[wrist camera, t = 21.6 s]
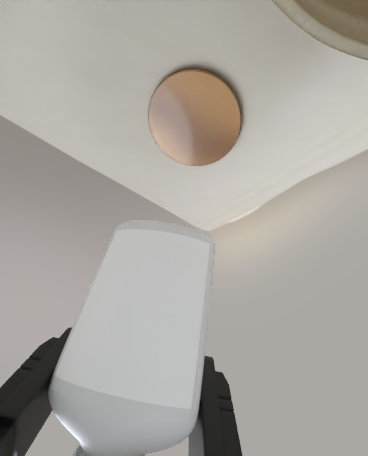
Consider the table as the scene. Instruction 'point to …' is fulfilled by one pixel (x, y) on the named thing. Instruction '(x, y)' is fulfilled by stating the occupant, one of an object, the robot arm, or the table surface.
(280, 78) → the table surface
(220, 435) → the robot arm
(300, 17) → the planter bowl
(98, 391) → the eye dropper bottle
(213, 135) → the cork coaster
